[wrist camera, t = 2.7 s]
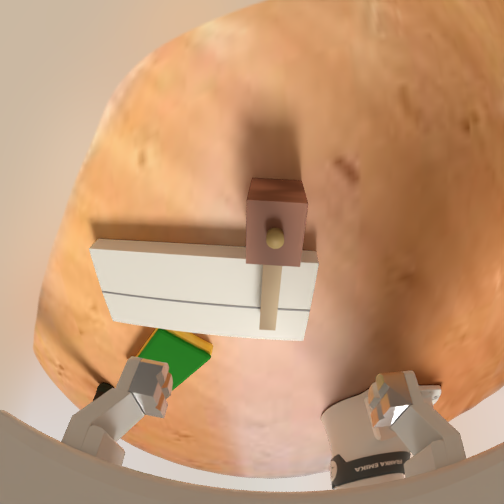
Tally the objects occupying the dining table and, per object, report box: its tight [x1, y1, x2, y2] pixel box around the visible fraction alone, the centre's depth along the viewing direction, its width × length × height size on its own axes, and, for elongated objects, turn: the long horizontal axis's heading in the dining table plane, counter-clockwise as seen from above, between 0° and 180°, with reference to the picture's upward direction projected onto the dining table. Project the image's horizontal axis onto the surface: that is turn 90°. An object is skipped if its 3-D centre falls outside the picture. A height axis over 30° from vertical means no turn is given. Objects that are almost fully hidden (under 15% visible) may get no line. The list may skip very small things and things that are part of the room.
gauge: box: [246, 178, 308, 330], centre depth 24 cm, size 4×13×6 cm, turn 179°
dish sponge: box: [136, 328, 213, 390], centre depth 36 cm, size 7×14×2 cm, turn 144°
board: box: [89, 239, 319, 341], centre depth 28 cm, size 22×10×2 cm, turn 89°
